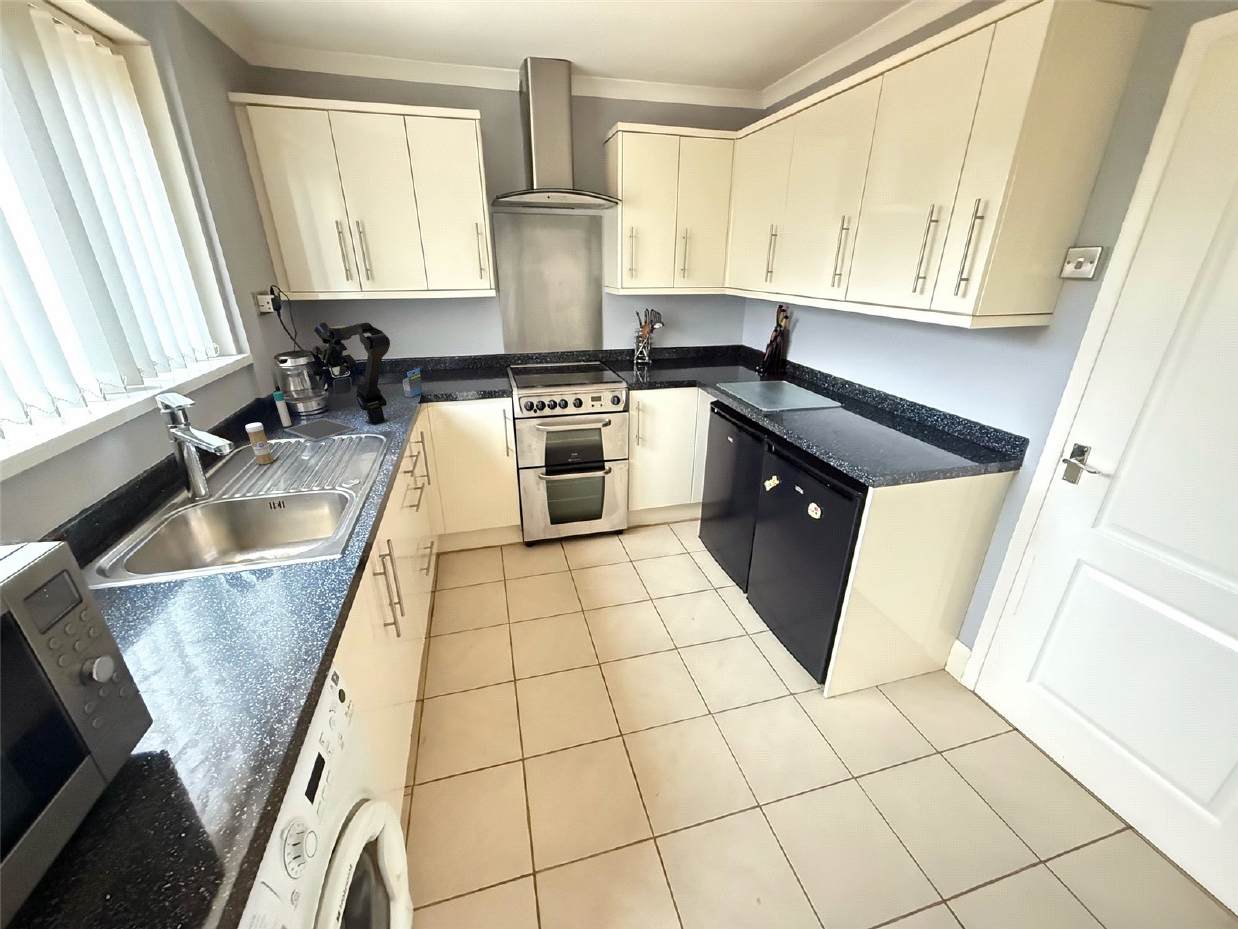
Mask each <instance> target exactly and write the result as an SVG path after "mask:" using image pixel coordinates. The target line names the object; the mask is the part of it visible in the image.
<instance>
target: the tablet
mask: <svg viewBox="0 0 1238 929" xmlns="http://www.w3.org/2000/svg"><path fill="white" fill-rule="evenodd" d="M356 429H357V428H356V427H355V426H351V425H348V424H344V423H342V422H338V421H334V420H331V419H327V418H319V419H317V420H313V421H309V422H306V423H303V424H299V425H295V426H291V427H288V428H283V432H284V433H287V434H290V435H293V436H296V437H300V438H302V439H305V440H308V441H311V442H314V443H317V442H320V441H325V440H327V439H330V438H332V437H336V436H339V435H342V434H345V433H349V432H351V431H354V430H356Z"/></svg>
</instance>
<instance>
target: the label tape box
mask: <svg viewBox="0 0 1238 929" xmlns="http://www.w3.org/2000/svg"><path fill="white" fill-rule="evenodd" d="M406 375H407V377H406V378H404V379H402V386H403V391H404V397H405V398H413V397H414V398H415V397H416V396H419V395H421V394H423V393H424V391H423V384H422V378H421V372H420V368H419V367H418V368H415V369H412V370H409V371H407V372H406Z"/></svg>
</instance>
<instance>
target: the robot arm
mask: <svg viewBox="0 0 1238 929" xmlns="http://www.w3.org/2000/svg"><path fill="white" fill-rule="evenodd" d="M313 333H314V334H315V335H316V337H317V338H318V339H319V340H320V341H321V343H323V344H320V345H314V346H312V350H311V351H312V353H313V354H314V355H315V356H320V359H321V361H323V363H320V362H319V361H318V360H317V359H314V360H309V361H306V362H305V368H306V369H307V370H308V371H309V372H310V374H311V375H312V376H315V377H316V380H317V381H318V382H321V380H322V379H323V377H324V376H325V374H324V371H325V370H328V369H334V368H339V369H338V377H339V378H341V377H343V376H344V375H345V374H347V373H348V372H350V371H351V370H353V369H354V368H356V367H357V366H358V362H357V360H356V359H355V358H354V357H353V356H352V354H351V353H348V354H344V351H348V346H346V345H345V343H344V341H349V340H350V339H352V338H353V336H359V342H360V343H361V344H362V345H363V348H364V350H365V351H366V353H367V359H366V364H365V372H364V378H363V383H358V384H357V386H356V391H355V393H356V395H355V396H356V401H357V403H358V405H359V408H360V409H361V410H362V411H366V415H367V420H365V423H367V424H370V425H374V426H376V425H378V424H382V423H385V422H388V421H389V418H385V414H384V409H383V407H386V406H387V403H388V402H387V400H386V398H385V397H384V395H383V394H382V392H381V389H380V387H379V385H378V384H379V379H380V374H381V368H382V361H383V358H384V357H385V356H386V355H387V354H388V352H389V350H390V346H391V340H390V338H389V337H388V336H387V335H386V333H385V332H383V330H381V329H379V328H377V327H375V326H373V325H372V324H371V323H370V322H368V321H365V322H357V323H355V324H352V325H337V326H329V325H328V324H327V323H326V322H320V323H319V324H318V325H316V327H315V328H313ZM365 334H369V335H367V336H366V335H365Z"/></svg>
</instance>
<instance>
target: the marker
mask: <svg viewBox="0 0 1238 929" xmlns="http://www.w3.org/2000/svg"><path fill="white" fill-rule="evenodd" d="M272 395H273V398H274V401H275V404H276V407H277V411H278V414H279V417H280V421H281V424H282V427H283V429H288V428H291V427H293V424H292V421H291V416H290V414H289V411H288V410H289V409H288V407H287V403H286V399H285V396H284V392H283V391H275V392H273V393H272Z"/></svg>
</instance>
